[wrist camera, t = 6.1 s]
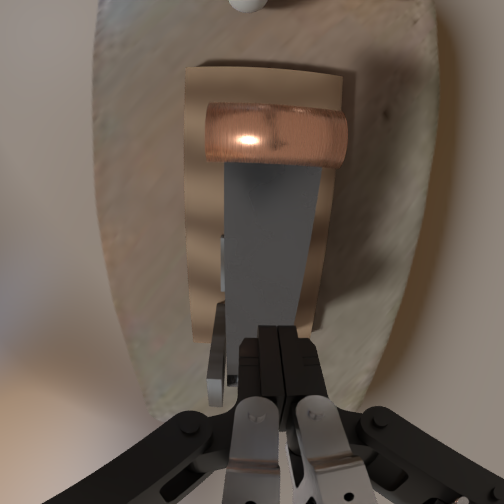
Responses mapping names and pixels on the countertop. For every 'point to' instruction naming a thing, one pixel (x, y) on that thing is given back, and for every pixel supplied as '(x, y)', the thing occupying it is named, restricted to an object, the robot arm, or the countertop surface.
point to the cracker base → (212, 197)
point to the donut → (247, 5)
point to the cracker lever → (268, 206)
